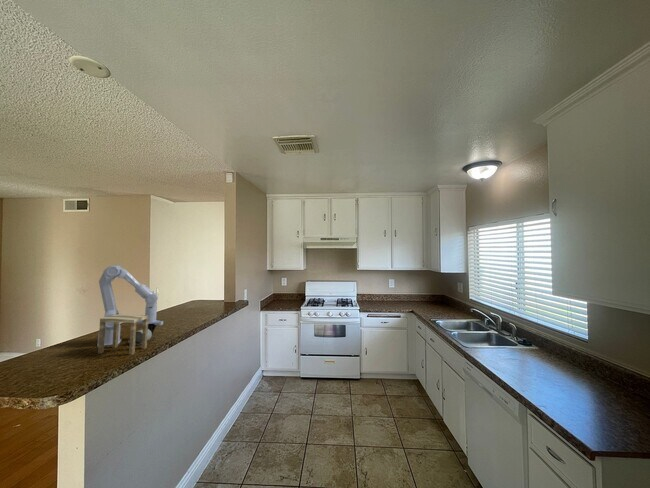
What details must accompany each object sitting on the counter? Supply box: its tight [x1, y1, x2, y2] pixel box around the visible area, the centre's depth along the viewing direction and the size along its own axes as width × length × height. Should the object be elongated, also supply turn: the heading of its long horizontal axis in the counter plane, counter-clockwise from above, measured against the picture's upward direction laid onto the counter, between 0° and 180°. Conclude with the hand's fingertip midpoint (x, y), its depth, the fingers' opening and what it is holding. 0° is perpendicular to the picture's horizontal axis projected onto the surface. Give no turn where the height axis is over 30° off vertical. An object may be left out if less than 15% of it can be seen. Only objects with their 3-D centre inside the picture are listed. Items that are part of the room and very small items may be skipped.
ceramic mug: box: [127, 328, 153, 346], centre depth 146 cm, size 11×8×8 cm
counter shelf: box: [97, 313, 149, 356], centre depth 134 cm, size 10×18×18 cm, turn 88°
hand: (149, 336), depth 153 cm, fingers closed
